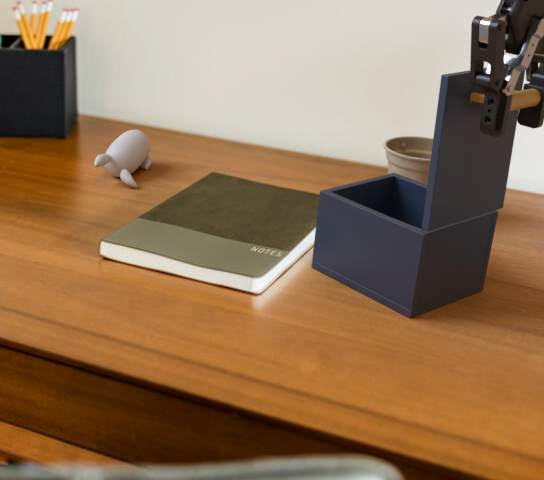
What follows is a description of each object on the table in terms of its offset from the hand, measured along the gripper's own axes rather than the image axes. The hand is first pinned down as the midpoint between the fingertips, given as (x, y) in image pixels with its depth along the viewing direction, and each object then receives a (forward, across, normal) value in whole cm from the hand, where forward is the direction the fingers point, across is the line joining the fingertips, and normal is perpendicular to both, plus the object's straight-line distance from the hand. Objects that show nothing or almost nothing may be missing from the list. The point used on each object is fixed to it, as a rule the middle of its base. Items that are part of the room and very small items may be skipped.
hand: (511, 129), depth 80 cm
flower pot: (+19, +17, +22) cm, 34 cm away
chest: (+19, 0, +10) cm, 21 cm away
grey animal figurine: (+19, -7, +51) cm, 55 cm away
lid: (+2, 0, +4) cm, 5 cm away
